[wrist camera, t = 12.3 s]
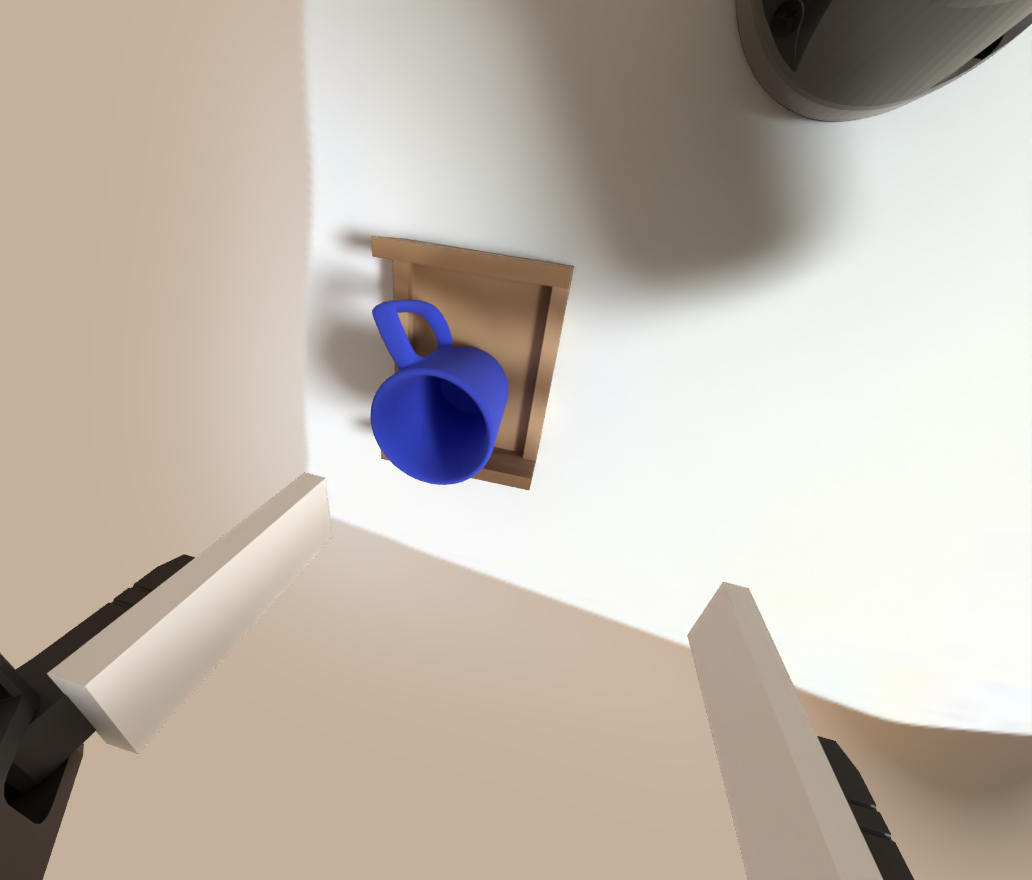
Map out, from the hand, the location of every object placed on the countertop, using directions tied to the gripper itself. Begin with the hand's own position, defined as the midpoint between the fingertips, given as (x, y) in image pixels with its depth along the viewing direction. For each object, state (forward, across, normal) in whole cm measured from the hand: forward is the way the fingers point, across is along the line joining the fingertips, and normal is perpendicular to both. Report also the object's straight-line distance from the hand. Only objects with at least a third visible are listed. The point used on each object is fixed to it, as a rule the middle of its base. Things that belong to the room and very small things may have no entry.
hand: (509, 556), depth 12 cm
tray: (+22, -7, -1) cm, 23 cm away
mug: (+21, -8, -1) cm, 22 cm away
